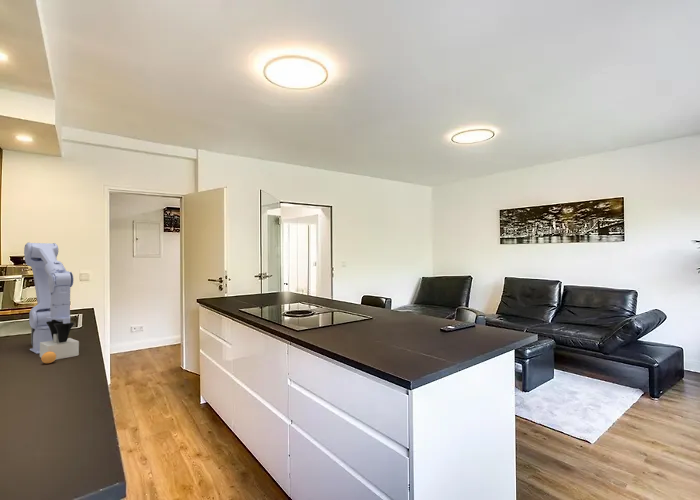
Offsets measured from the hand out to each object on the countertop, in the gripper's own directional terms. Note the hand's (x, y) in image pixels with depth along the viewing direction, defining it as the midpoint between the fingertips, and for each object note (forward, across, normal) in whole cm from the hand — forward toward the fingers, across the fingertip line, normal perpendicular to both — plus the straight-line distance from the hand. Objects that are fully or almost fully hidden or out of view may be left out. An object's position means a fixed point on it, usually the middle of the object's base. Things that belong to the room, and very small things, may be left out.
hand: (59, 340), depth 133 cm
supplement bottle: (+6, -28, +2) cm, 29 cm away
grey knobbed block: (+6, 0, 0) cm, 6 cm away
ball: (+4, +8, -5) cm, 10 cm away
